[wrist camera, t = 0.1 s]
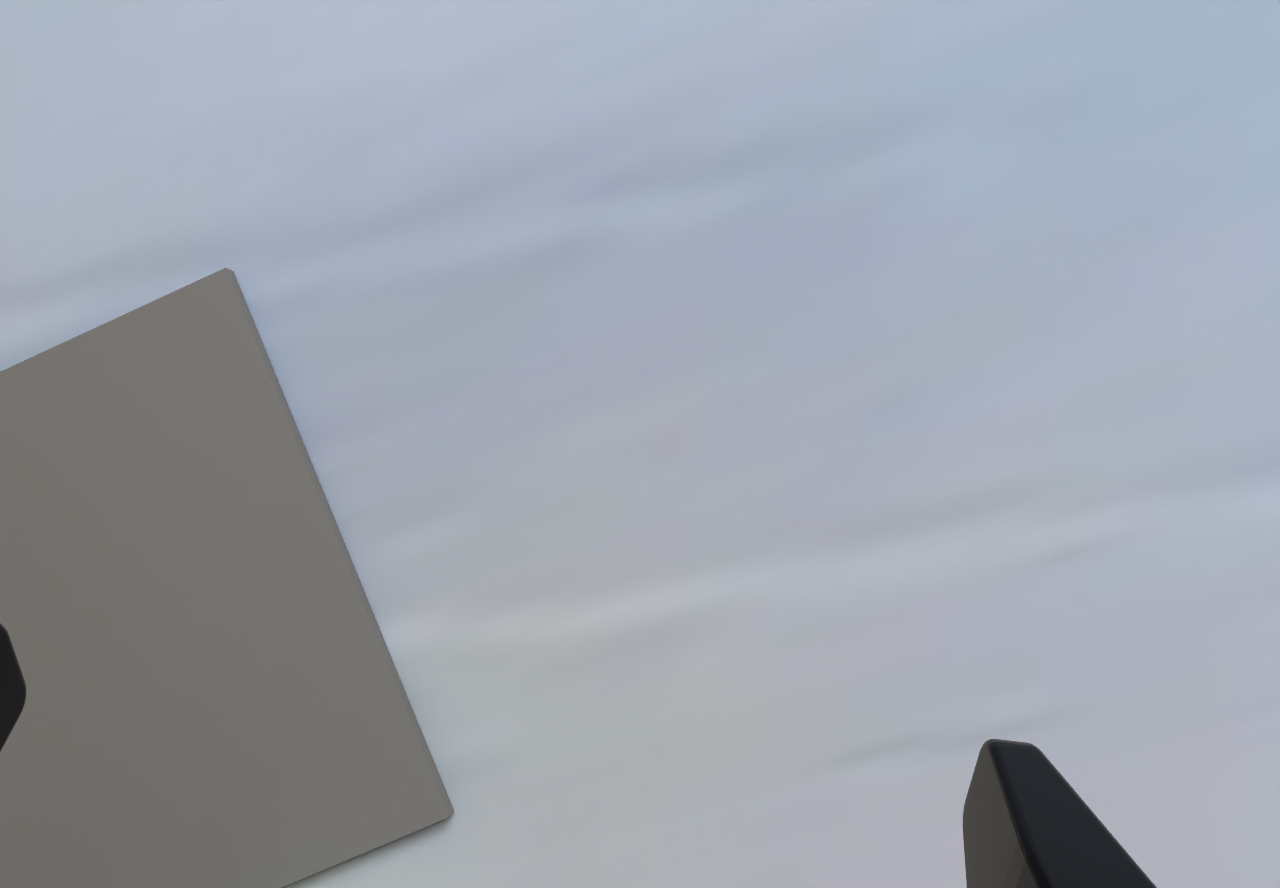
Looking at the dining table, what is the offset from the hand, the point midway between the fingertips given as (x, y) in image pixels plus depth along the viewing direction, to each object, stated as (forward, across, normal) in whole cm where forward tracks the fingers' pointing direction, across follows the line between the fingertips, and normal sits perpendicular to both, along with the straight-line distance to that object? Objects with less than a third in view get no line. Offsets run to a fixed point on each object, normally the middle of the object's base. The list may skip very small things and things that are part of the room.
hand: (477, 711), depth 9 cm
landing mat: (+11, +12, +10) cm, 19 cm away
